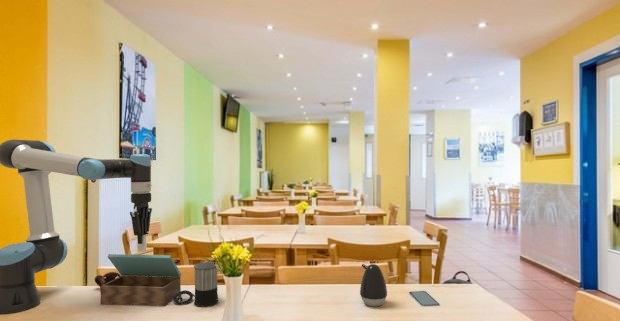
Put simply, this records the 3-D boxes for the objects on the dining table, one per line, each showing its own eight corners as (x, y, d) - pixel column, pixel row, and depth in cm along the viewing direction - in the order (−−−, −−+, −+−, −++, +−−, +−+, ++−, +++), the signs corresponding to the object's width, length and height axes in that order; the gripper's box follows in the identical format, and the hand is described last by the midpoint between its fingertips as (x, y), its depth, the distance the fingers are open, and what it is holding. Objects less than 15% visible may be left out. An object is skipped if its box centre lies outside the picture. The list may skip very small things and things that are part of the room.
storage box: (100, 304, 153) (100, 286, 153) (121, 292, 167) (121, 275, 167) (164, 306, 150) (164, 287, 150) (180, 293, 164) (180, 277, 164)
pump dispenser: (370, 297, 158) (370, 259, 158) (392, 303, 151) (392, 264, 151) (354, 304, 151) (353, 264, 151) (376, 311, 144) (376, 269, 144)
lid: (107, 256, 158) (109, 253, 159) (121, 275, 167) (122, 272, 168) (169, 257, 155) (171, 254, 156) (180, 277, 164) (181, 273, 165)
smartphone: (421, 305, 148) (408, 291, 163) (421, 308, 148) (408, 293, 163) (440, 304, 149) (425, 290, 164) (440, 307, 149) (425, 293, 164)
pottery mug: (125, 285, 178) (126, 272, 174) (115, 301, 169) (116, 287, 166) (98, 279, 177) (99, 266, 173) (87, 295, 168) (87, 281, 165)
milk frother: (221, 304, 152) (221, 265, 152) (179, 312, 144) (179, 272, 144) (210, 294, 164) (210, 258, 164) (171, 301, 156) (171, 263, 156)
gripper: (141, 193, 152) (142, 255, 152) (158, 191, 165) (158, 247, 165) (123, 193, 153) (123, 255, 153) (140, 191, 166) (141, 247, 166)
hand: (141, 251), depth 159 cm, fingers closed
